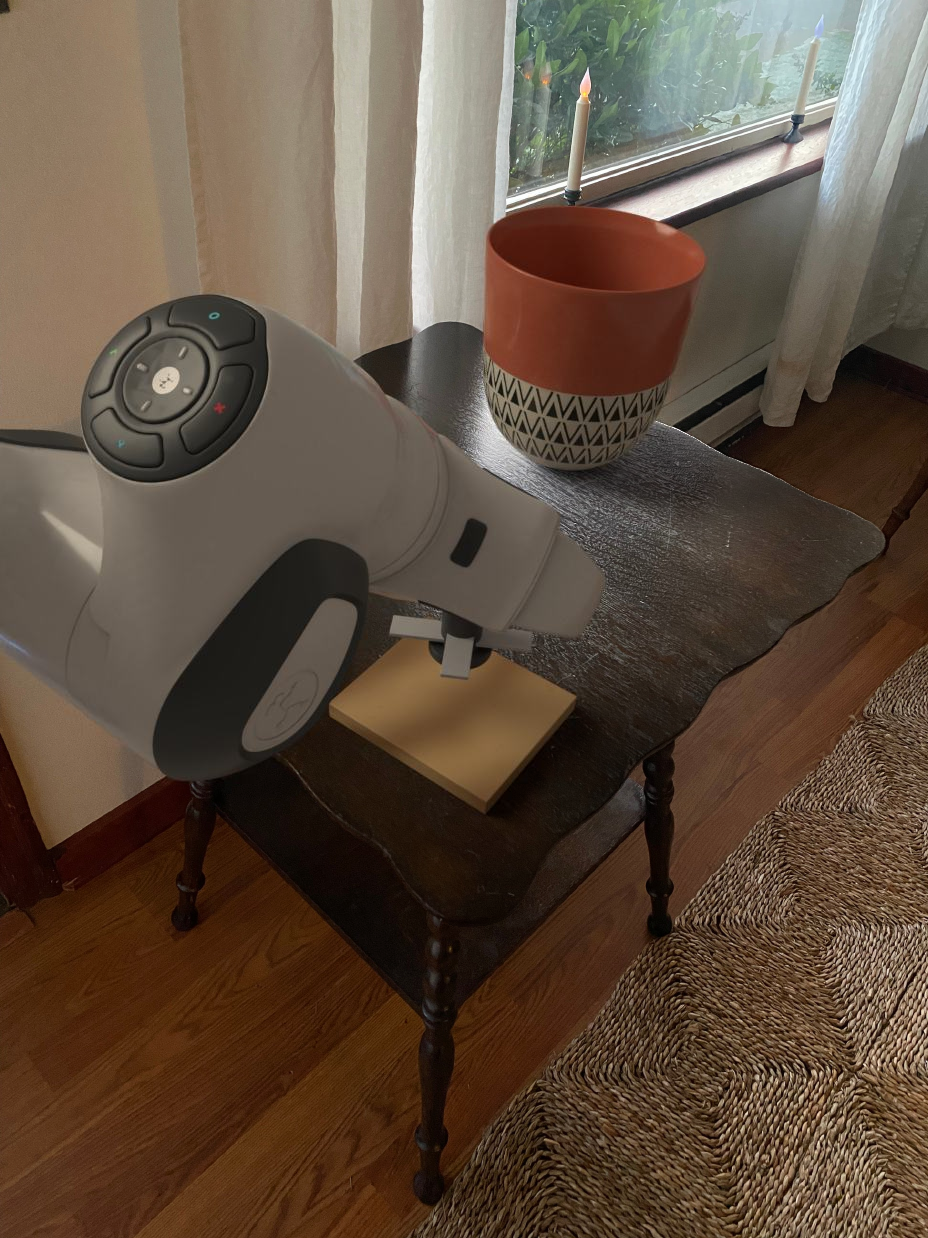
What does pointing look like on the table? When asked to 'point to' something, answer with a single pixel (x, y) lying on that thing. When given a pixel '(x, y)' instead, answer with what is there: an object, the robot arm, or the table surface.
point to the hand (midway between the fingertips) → (473, 555)
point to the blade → (459, 642)
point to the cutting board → (454, 718)
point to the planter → (583, 328)
